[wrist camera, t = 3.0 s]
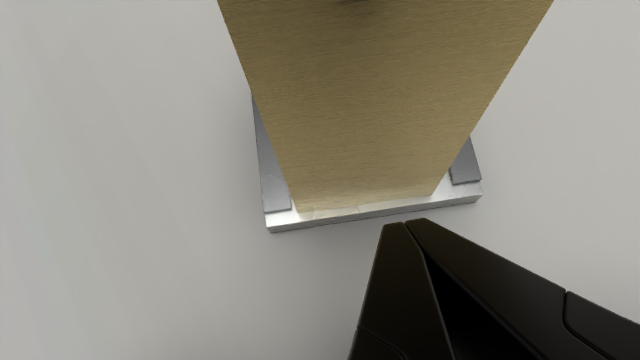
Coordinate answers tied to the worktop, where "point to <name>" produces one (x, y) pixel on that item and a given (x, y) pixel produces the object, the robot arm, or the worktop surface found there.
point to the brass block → (374, 87)
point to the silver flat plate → (283, 215)
